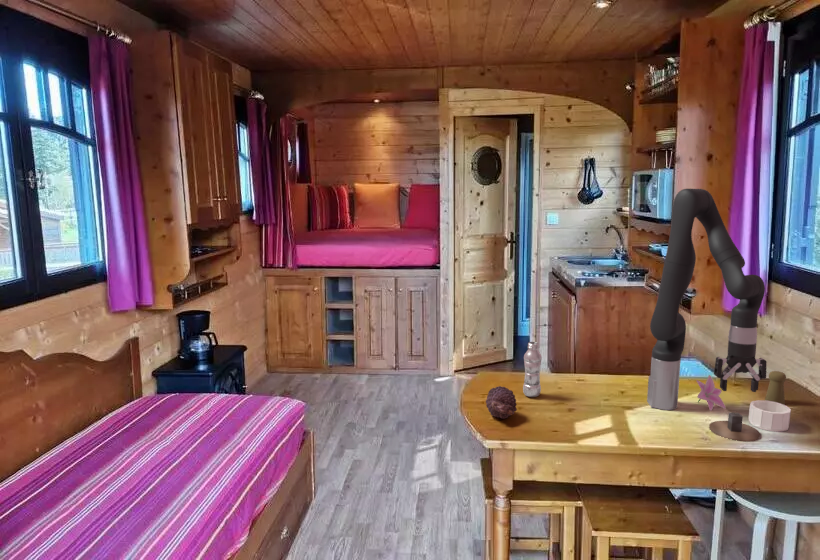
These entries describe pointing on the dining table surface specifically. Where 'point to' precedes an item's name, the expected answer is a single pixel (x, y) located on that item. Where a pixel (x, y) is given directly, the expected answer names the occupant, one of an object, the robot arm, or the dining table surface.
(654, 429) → the dining table surface
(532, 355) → the plastic bottle
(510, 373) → the dining table surface
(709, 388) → the lily
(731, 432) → the walnut lid
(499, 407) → the pine cone
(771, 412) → the ceramic bowl
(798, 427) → the dining table surface
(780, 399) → the cork
